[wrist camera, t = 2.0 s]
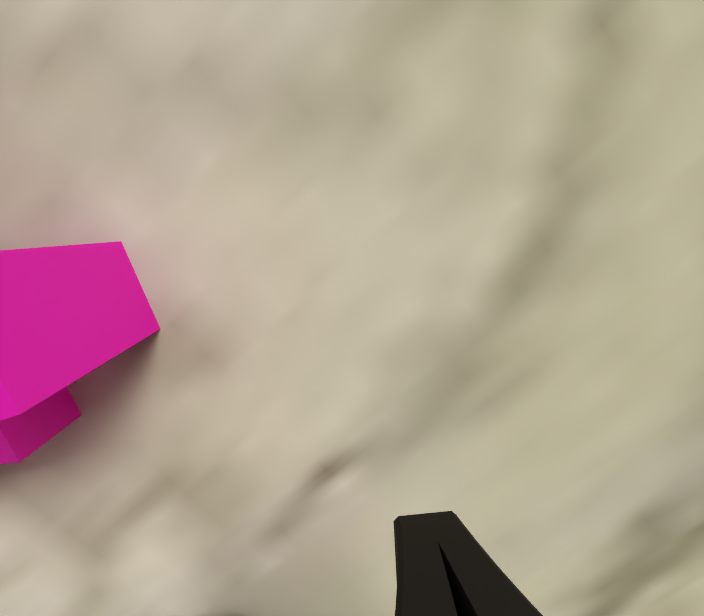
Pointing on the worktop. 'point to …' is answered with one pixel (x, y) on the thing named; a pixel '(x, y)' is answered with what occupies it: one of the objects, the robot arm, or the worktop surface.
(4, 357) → the toy block
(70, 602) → the worktop surface
